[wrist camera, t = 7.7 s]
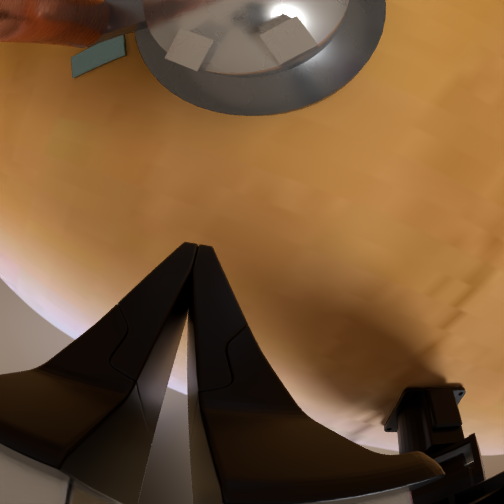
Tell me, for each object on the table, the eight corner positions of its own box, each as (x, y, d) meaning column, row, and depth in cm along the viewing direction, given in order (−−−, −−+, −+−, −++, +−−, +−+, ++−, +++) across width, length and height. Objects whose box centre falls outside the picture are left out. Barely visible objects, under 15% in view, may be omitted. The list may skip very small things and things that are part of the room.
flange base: (377, 126, 15) (384, 128, 14) (72, 127, 19) (54, 131, 17) (371, -69, 9) (375, -84, 8) (83, -30, 13) (68, -36, 11)
